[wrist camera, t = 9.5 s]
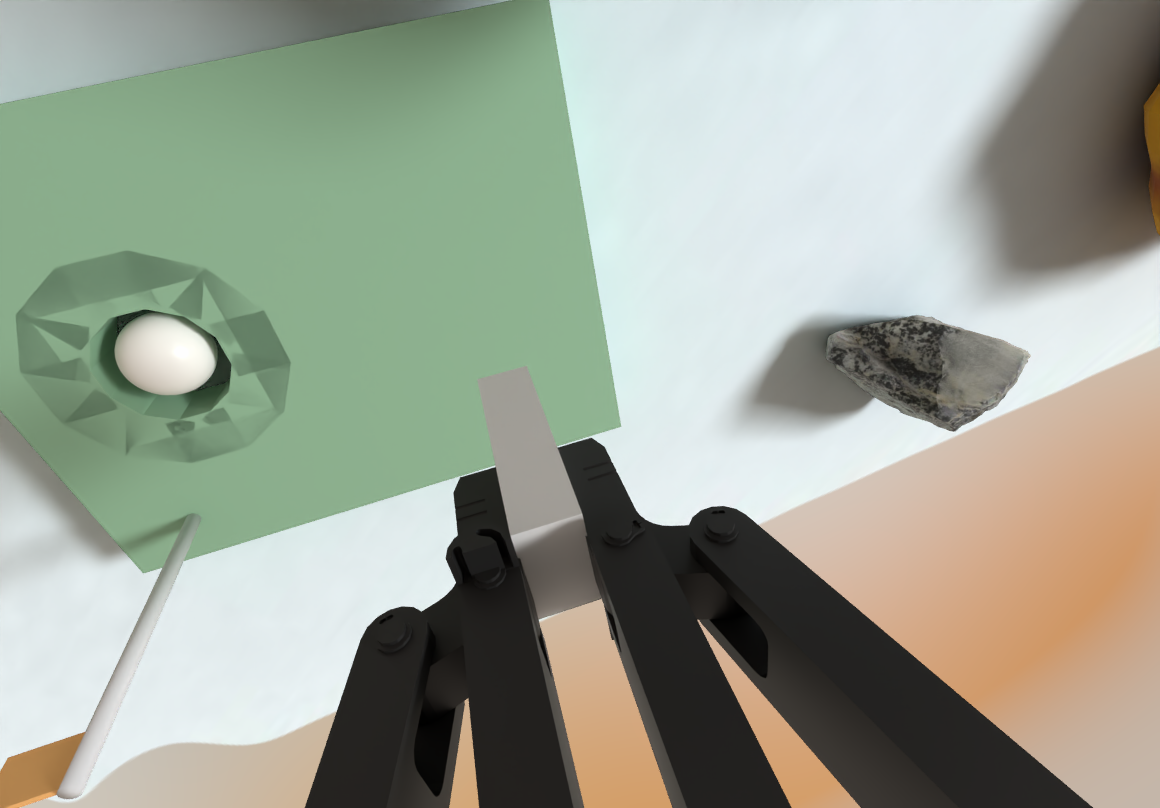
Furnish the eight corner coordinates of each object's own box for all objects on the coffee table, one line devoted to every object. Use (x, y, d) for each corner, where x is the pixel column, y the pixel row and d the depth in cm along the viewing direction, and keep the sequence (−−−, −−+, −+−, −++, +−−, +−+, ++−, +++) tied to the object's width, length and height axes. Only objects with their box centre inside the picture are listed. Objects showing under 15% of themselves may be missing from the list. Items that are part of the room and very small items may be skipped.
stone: (933, 472, 34) (1088, 374, 33) (829, 337, 35) (975, 237, 34) (877, 461, 44) (996, 384, 42) (797, 354, 45) (910, 277, 44)
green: (533, -1, 26) (692, -76, 12) (606, 402, 38) (729, 605, 24) (-159, 140, 22) (-1112, 273, 8) (161, 536, 34) (-6, 867, 20)
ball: (220, 300, 29) (166, 330, 30) (138, 294, 25) (81, 329, 26) (248, 375, 29) (193, 402, 30) (170, 380, 25) (111, 411, 26)
